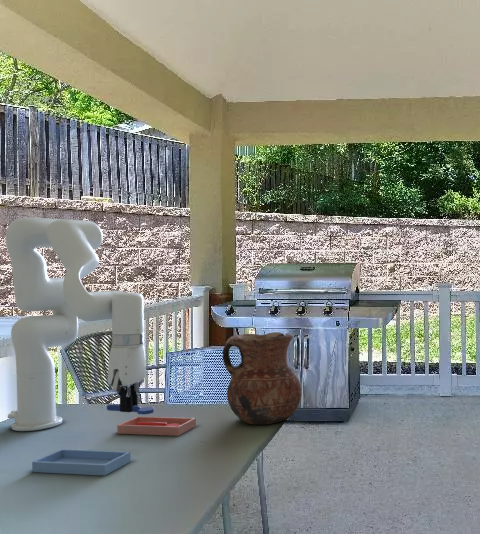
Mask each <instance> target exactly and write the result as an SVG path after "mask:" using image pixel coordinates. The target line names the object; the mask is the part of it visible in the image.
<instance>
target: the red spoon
mask: <svg viewBox="0 0 480 534" xmlns="http://www.w3.org/2000/svg"><path fill="white" fill-rule="evenodd" d="M135 425H144V426H174V427H178V426H180V424H177V423H173V424H167V423H165V422H136V424H135Z"/></svg>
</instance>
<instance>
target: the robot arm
mask: <svg viewBox="0 0 480 534" xmlns="http://www.w3.org/2000/svg"><path fill="white" fill-rule="evenodd" d="M5 231H6V232H5V246H6V249H7V253H8V255H9V258H10V262H11V267H12V279H13V280H12V281H13V292H14V293H13V294H14V300H15V305H16V307H17V308H18V309H19V310H20V311H22V312H31V313H32V312H44V311H52V314H47V315H45V314H44V315H43V314H42V315H33V316H27V317H23V318H20V319H18V320H16V321H15V322H14V323H13V325H12V327H11V329H10V336H11V342H12V345H13V346H12V347H13V350H14V355H15V365H16V366H15V367H16V370H15V371H16V396H17V397H16V398H17V399H16V402H17V409H16V410H14V409H13V410H11V411H10V413H8V414H7V419H14V422H13V423H12V424H11V430H13V431H17V432H33V431H40V430H45V429H49V428H54V427H56V426H59V425H61V424H62V423H63V417H61V416H58V415H57V397H56V392H57V391H56V364H55V360H54V358H53V357H52V355H51V354H50V353H49V351H48V349H49V348H54V347H55V348H56V347H61V346H67V345H71V344H73V343H74V342H75V341H76V340H77V338H78V335H79V320H81V321H83V322H96V321H105V320H106V321H107V320H111V329H112V331H111V337H112V338H111V345H112V346H111V347H110V351H109V357H108V367H107V384H108V385H109V386H111V387H112V388H111V391H112V392H114V393H117V397H119V405H120V411H119V412H120V413H133V412H132V406H139V399H138V398H139V397H138V396H139V395H138V394H140V387H141V385H142V384H143V383H144V382H145V379H146V376H147V359H146V349H145V307H144V305H145V304H144V295H143V294H141V293H140V292H133V291H132V292H130V291H129V292H128V291H127V292H126V291H122V290H100V291H88V290H87V289H86V287H85V286H84V284H83V282H82V280H81V279H83V278H85V277H87V276H89V275H90V274H92V273H93V272H94V271H96V269H97V268H98V266H99V264H100V258H99V256H98V254H97V252H96V251H95V250H96V249H98V248H100V247H101V245H102V243H103V241H104V236H103V234H104V233H103V231H102V229H101V227H100V225H98V223H96V222H94V221H92V220H85V219H83V220H82V219H68V218H67V219H66V218H48V217H35V216H33V217H29V216H28V217H20V218H17V219H14V220H12V222H10V223H9V224H8V226H7V228H6V230H5ZM37 248H52V250H53V252H54V253H55V254H56V256H57V257H58V260H59V261H60V262H61V264H62V266H63V268H64V269H65V271H66V273H65V274H64V277H49V275H48V265H47V261H46V259H45V258H44V256H43V255H42V254H41V252H39V250H38V249H37Z"/></svg>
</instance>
